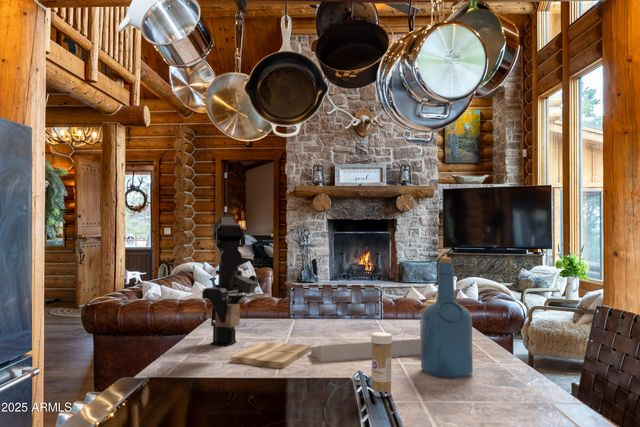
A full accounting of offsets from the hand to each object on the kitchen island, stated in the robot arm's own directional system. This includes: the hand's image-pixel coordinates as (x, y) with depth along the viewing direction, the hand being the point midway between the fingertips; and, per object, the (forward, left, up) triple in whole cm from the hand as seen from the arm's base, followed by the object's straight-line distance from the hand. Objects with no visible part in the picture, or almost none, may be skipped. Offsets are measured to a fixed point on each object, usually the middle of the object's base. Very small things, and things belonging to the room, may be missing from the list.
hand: (227, 321), depth 133 cm
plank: (+7, +7, -11) cm, 15 cm away
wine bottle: (+61, +7, -11) cm, 62 cm away
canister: (+58, +34, -11) cm, 68 cm away
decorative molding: (+37, +20, -11) cm, 44 cm away
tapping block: (0, 0, -1) cm, 1 cm away
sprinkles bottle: (+48, -16, -11) cm, 52 cm away
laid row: (+15, +7, -11) cm, 20 cm away
